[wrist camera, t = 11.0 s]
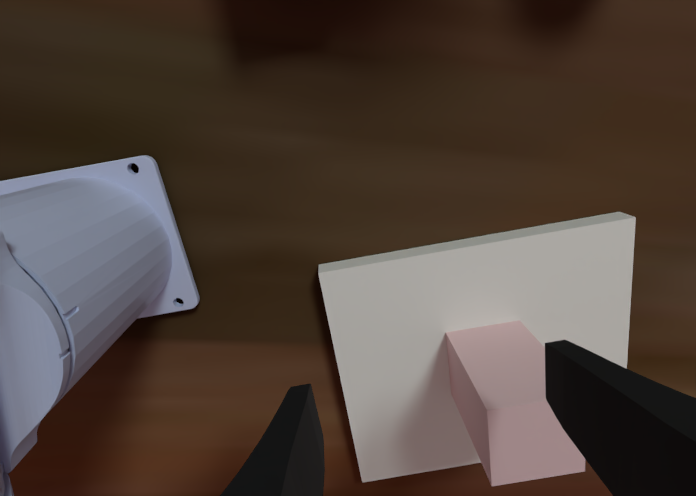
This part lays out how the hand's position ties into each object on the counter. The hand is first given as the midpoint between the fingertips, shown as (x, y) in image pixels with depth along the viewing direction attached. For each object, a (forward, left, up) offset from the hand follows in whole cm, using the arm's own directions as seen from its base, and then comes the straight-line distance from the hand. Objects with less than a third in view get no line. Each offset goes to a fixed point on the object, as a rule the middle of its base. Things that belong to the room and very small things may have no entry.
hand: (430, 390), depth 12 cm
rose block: (+4, -6, -9) cm, 11 cm away
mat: (+4, -6, -10) cm, 12 cm away
